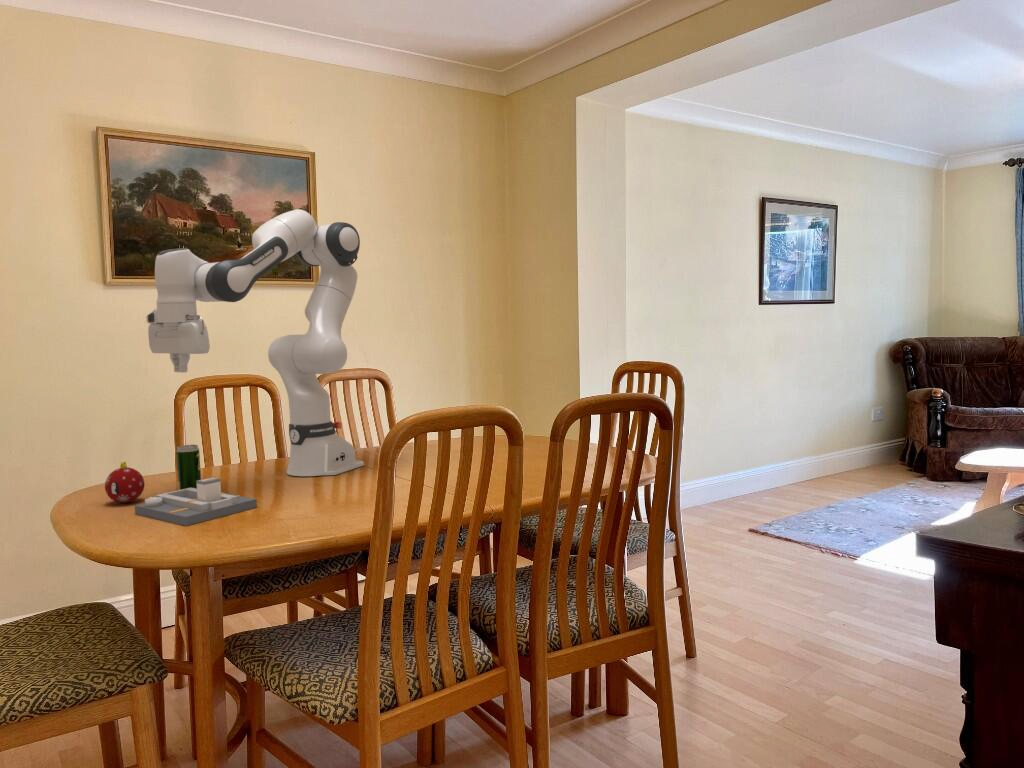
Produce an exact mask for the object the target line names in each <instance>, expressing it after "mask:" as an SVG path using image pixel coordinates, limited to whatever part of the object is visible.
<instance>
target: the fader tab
mask: <svg viewBox="0 0 1024 768" xmlns="http://www.w3.org/2000/svg"><path fill="white" fill-rule="evenodd" d="M196 482H197V498H198V501H203V502H208V503H211V502H215V501H219V500H221V492H222V487H221V484H222V483H221V478H219V477H213V476H212V477H208V478H204V479H203V478H201V480H198V481H196Z"/></svg>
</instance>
